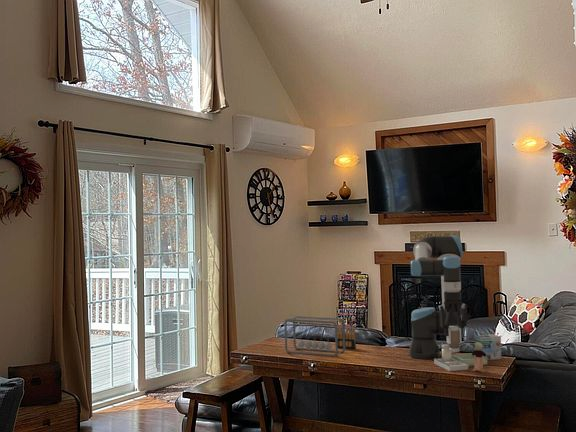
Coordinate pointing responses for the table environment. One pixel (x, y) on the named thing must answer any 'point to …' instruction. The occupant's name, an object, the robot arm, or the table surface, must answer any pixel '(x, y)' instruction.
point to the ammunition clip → (346, 338)
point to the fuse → (446, 353)
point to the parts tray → (467, 359)
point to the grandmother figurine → (478, 357)
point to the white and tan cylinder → (454, 339)
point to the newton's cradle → (315, 344)
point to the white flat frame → (451, 365)
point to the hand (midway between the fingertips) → (454, 342)
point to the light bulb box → (490, 345)
